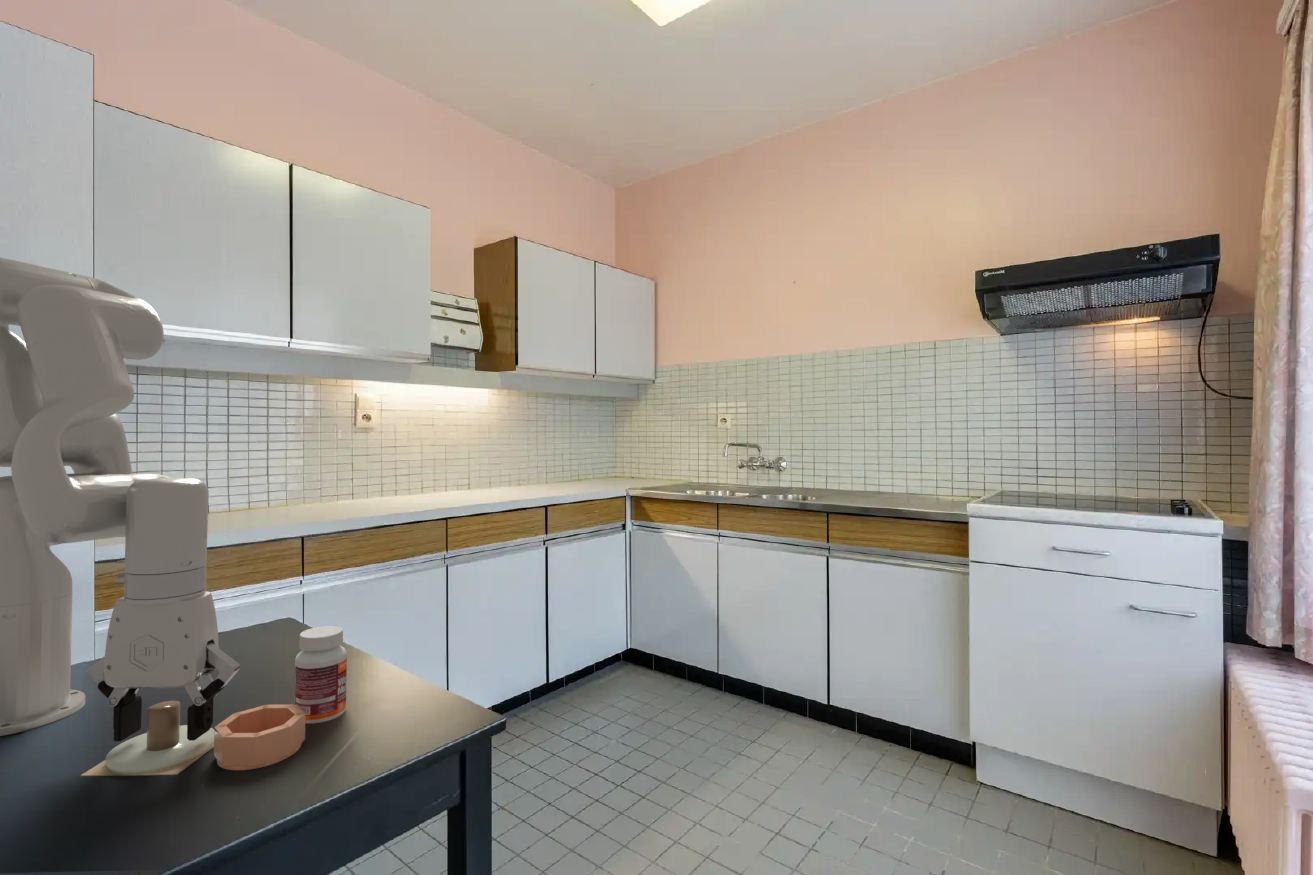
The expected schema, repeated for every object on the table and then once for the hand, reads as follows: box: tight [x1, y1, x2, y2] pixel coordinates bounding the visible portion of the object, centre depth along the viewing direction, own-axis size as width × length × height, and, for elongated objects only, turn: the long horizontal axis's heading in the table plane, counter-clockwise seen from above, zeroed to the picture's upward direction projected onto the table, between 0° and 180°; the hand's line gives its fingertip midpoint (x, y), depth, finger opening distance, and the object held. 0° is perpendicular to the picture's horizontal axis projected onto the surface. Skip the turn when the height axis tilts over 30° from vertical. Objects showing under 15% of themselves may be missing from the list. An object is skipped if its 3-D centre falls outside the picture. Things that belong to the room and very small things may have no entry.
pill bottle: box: [293, 625, 348, 724], centre depth 83 cm, size 6×6×11 cm
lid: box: [105, 700, 214, 776], centre depth 72 cm, size 10×10×5 cm
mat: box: [80, 745, 214, 777], centre depth 72 cm, size 10×10×1 cm
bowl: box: [213, 703, 306, 771], centre depth 73 cm, size 8×8×4 cm
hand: (163, 734), depth 72 cm, fingers open, 7 cm apart
